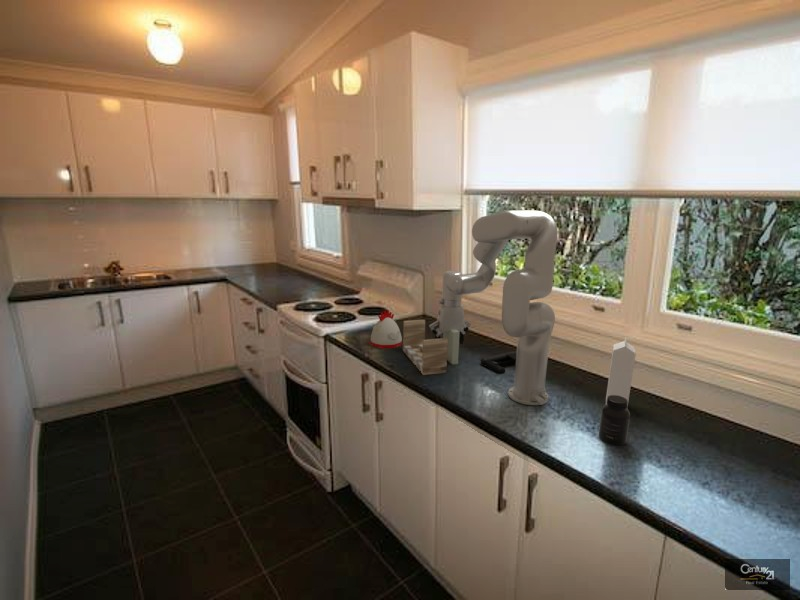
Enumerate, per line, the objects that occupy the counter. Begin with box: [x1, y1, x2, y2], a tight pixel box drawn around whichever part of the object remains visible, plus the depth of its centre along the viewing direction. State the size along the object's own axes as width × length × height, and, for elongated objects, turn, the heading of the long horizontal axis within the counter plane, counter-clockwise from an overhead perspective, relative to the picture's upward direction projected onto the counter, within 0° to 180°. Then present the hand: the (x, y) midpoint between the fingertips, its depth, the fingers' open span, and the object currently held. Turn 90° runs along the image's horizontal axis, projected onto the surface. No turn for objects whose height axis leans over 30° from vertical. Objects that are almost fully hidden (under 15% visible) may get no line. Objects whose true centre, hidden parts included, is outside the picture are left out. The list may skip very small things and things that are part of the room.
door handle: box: [479, 350, 517, 374], centre depth 164 cm, size 3×20×16 cm
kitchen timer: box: [370, 309, 403, 349], centre depth 186 cm, size 14×14×15 cm
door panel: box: [440, 329, 460, 365], centre depth 169 cm, size 12×3×13 cm, turn 16°
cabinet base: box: [402, 319, 448, 376], centre depth 166 cm, size 26×9×13 cm, turn 16°
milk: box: [605, 336, 637, 408], centre depth 131 cm, size 6×6×22 cm
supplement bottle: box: [598, 395, 631, 447], centre depth 113 cm, size 7×7×12 cm
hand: (449, 344), depth 170 cm, fingers open, 9 cm apart
